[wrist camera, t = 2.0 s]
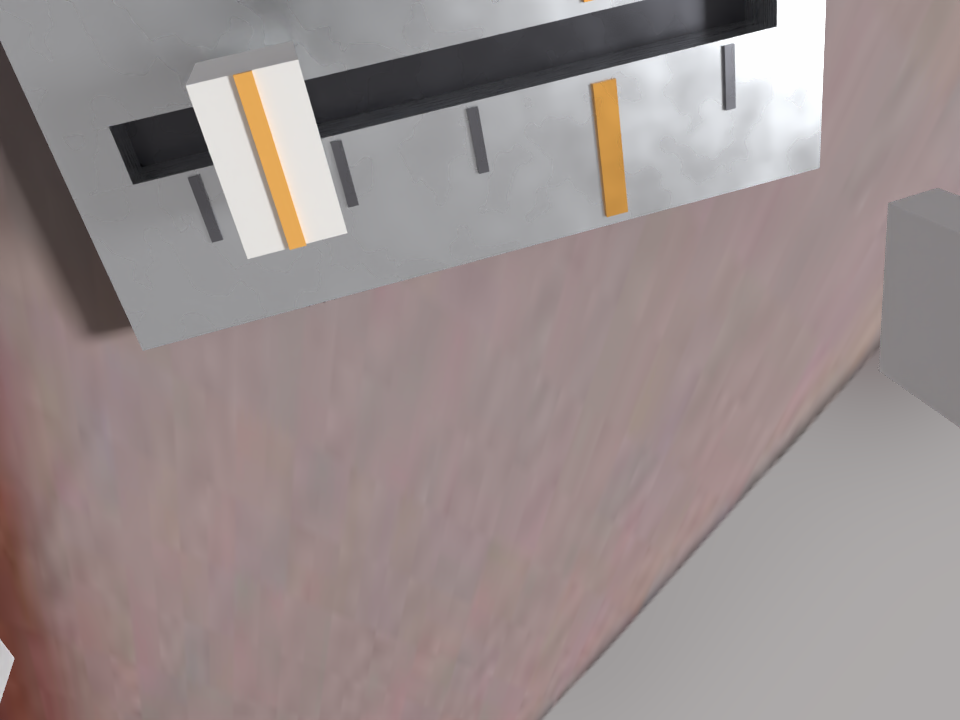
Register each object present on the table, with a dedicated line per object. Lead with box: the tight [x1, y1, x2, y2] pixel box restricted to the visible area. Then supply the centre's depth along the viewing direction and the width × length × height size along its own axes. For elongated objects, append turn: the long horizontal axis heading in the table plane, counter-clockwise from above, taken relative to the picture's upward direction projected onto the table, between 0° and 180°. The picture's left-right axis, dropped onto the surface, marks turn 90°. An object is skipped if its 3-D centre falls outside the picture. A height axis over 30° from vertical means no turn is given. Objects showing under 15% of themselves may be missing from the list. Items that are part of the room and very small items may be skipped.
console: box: [0, 0, 826, 351], centre depth 29 cm, size 14×28×3 cm, turn 101°
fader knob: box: [186, 41, 347, 259], centre depth 26 cm, size 5×3×8 cm, turn 11°
